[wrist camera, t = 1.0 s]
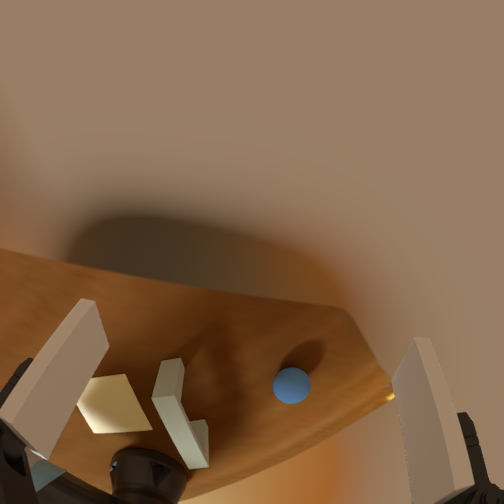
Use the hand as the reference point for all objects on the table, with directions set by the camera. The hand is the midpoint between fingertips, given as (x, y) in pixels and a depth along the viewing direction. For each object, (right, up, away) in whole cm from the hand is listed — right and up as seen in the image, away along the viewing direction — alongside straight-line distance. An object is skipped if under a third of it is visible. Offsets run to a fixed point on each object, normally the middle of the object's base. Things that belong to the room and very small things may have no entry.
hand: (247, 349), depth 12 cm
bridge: (-10, -18, +32) cm, 38 cm away
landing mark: (-24, -22, +31) cm, 45 cm away
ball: (+6, -15, +30) cm, 35 cm away
